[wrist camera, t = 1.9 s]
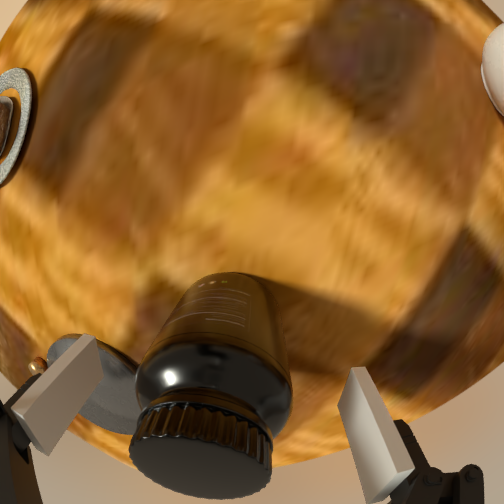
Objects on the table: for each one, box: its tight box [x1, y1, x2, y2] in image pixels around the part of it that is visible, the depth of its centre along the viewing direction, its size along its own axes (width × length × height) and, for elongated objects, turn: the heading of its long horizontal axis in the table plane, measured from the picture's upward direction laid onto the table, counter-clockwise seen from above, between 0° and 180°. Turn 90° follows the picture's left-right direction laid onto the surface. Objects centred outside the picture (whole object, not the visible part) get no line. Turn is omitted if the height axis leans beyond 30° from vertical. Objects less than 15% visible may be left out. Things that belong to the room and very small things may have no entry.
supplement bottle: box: [129, 272, 293, 500], centre depth 12 cm, size 7×7×12 cm
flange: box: [29, 334, 142, 435], centre depth 20 cm, size 12×18×2 cm, turn 85°
